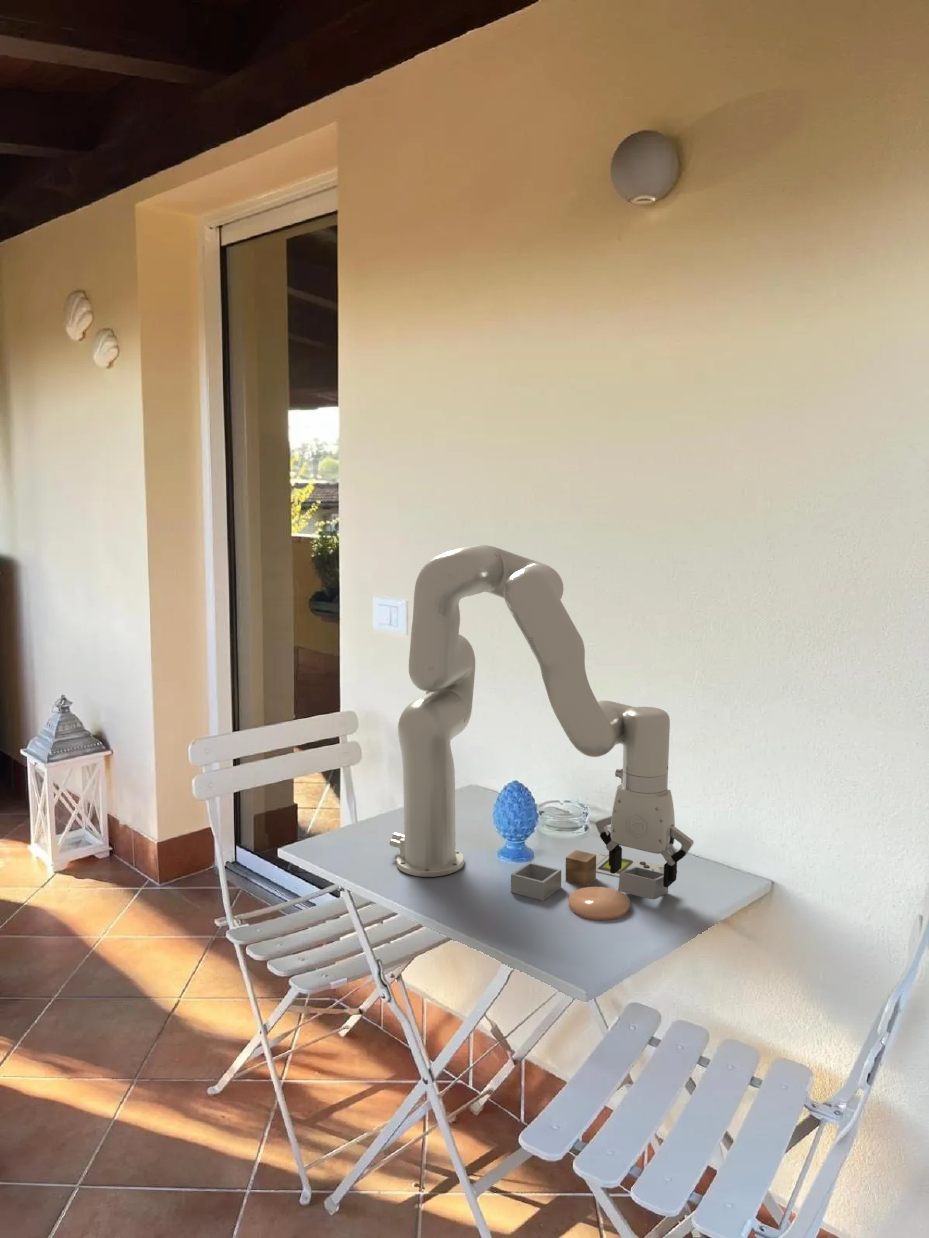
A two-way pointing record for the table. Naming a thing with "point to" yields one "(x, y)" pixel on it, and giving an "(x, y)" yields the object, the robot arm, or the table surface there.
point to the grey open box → (536, 881)
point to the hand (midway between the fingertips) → (641, 877)
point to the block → (580, 868)
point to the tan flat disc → (599, 903)
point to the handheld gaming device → (624, 865)
